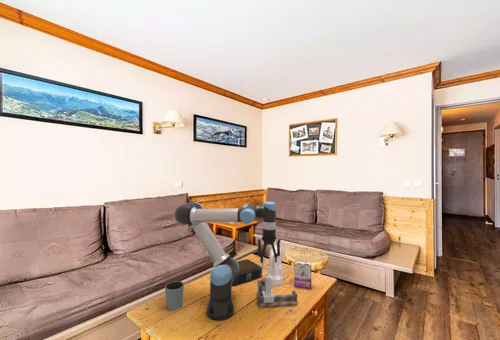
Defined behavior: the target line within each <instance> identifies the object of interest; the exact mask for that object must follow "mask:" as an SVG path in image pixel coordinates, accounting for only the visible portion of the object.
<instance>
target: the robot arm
mask: <svg viewBox="0 0 500 340" xmlns="http://www.w3.org/2000/svg"><path fill="white" fill-rule="evenodd" d="M173 216H174V220H175V221H176V222H177V223H178V224H179V225H185V226H187V227H188V228H189V229H193V231H194V233H195V234H196V236H197V237H198V239H199V241H200V242H201V244H202V245H203V247H204V249H205V250H206V252H207V254H208V255H209V257H210V259H211V260H212V261H213V265H212V266H213V268H212V269H211V271H210V275H209V280H210V281H209V299H208V300H209V301H208V303H207V305H206V306H207V307H206V315H207V318H209V319H211V320H214V321H224V320H225V321H226V320H228V319H230V318H232V317H233V315H234V314H235V304H234V300H233V298H232V291H233V290H232V287H233V286H232V283H233V281H234V280H235V278H236V276H237V275H238V271H239V265H238V262H237V260H236V259H235V258H233V257H231V255H230V253H226V252H225V250H224V248H223V247H222V245H221V244H220V242H219V241H218V240H217V237H216V236H215V234H214V233H213V231H212V229H211V228H210V227H209V225H208V223H243V224H245V225H246V224H247V225H248V224H251V223H253V222H254V221H255V219H256V218H257V219H262V236H261V238H257V257H258V258H260V261H259V262H260V264H261V267H262V270H265V256H264V255H265V252H266V250H267V249H266V248H267V247H268V246H269V245H270V246H271V249H273V253H274V256H273V269H275V263H276V262H277V257H278V256H280V248H281V246H280V245H281V244H280V243H281V242H282V241H281V238H280V237H279V238H278V237H276V232H277V231H276V228H277V227H276V225H277V224H276V223H277V221H276V220H277V203H275V202H274V201H263V203H262V204H250V203H247V204H243V206H242V208H241V207H237V208H235V207H234V208H228V207H226V208H204V207H203V205H202V204H201V203H199V202H197V201H189V202H187V203H183V204H181V205H179V206H178V207H177V208H176V209H175V211H174V214H173ZM262 241H263V246H262V245H261V244H262ZM275 242H276V246H277V254H276V250H275V247H274V245H275V244H274V243H275ZM261 246H262V248H261Z"/></svg>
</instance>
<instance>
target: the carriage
mask: <svg viewBox="0 0 500 340" xmlns="http://www.w3.org/2000/svg"><path fill="white" fill-rule="evenodd" d="M264 276H265V291H262V296H263V303H274V293H273V291H272V285H271V276H268V275H264Z"/></svg>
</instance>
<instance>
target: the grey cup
mask: <svg viewBox="0 0 500 340" xmlns="http://www.w3.org/2000/svg"><path fill="white" fill-rule="evenodd" d="M164 286H165V287H164V291H165V301H166V309H167V310H168V309H169V310H168V311H177V309H178V310H179V308H180V309H181V308H182V307H183V303H184V287H185V284H184V282H183V281H181V280H174V281H171V282H168V283H166V284H165V285H164Z"/></svg>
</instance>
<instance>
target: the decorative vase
mask: <svg viewBox="0 0 500 340" xmlns="http://www.w3.org/2000/svg"><path fill="white" fill-rule="evenodd" d="M274 247H275V250H276V254H277V245H275V244H274ZM273 256H274V253H273V249H272V248H271V249H270V250H269V261H268V262H269V263H268V266H267V269H268V270H267V271H268V272H267V276H271V287H272V286H273V287H280V286H282V285H283V284H284V275H283V264H282V247H280V256H278V257H277V262H276V263H275V269H273Z"/></svg>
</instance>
